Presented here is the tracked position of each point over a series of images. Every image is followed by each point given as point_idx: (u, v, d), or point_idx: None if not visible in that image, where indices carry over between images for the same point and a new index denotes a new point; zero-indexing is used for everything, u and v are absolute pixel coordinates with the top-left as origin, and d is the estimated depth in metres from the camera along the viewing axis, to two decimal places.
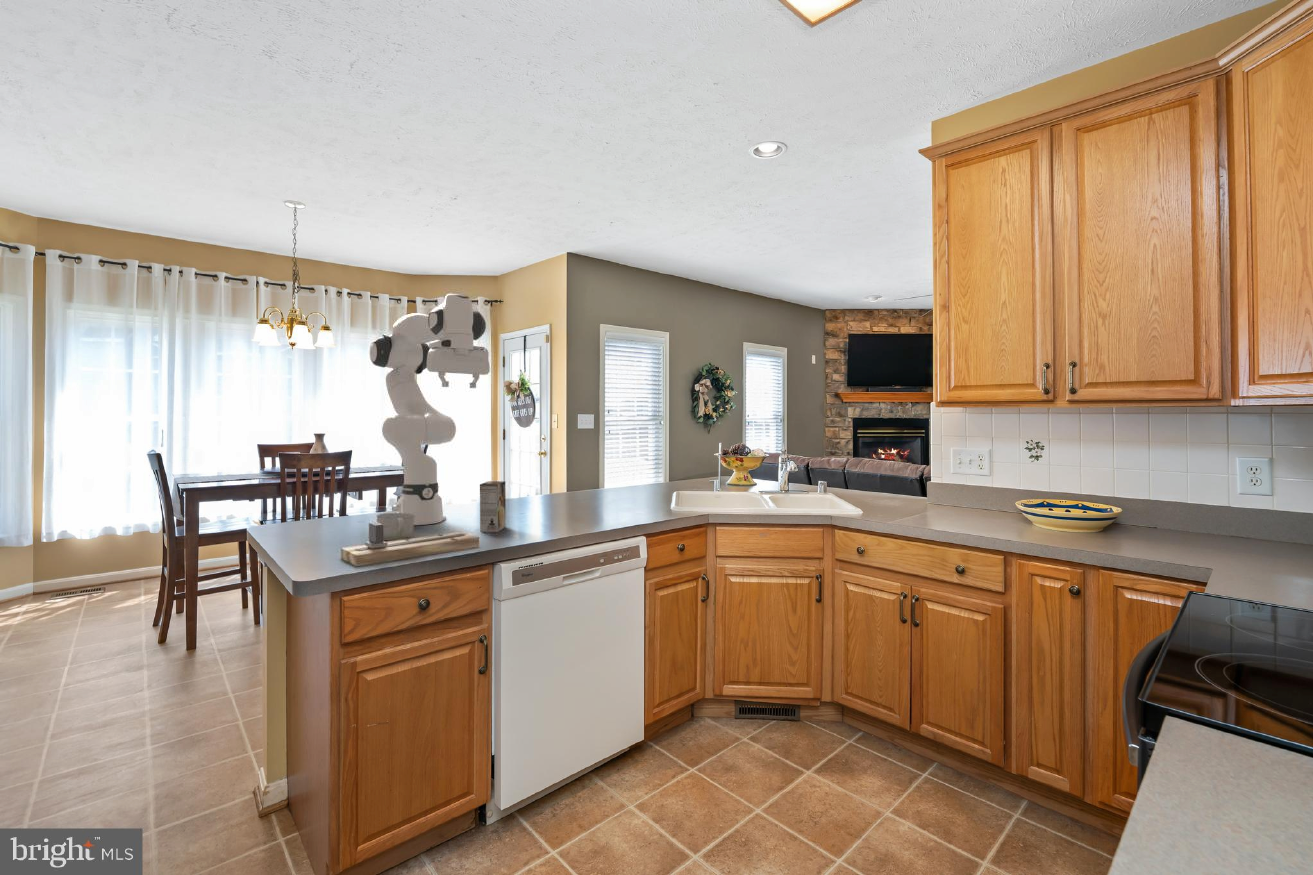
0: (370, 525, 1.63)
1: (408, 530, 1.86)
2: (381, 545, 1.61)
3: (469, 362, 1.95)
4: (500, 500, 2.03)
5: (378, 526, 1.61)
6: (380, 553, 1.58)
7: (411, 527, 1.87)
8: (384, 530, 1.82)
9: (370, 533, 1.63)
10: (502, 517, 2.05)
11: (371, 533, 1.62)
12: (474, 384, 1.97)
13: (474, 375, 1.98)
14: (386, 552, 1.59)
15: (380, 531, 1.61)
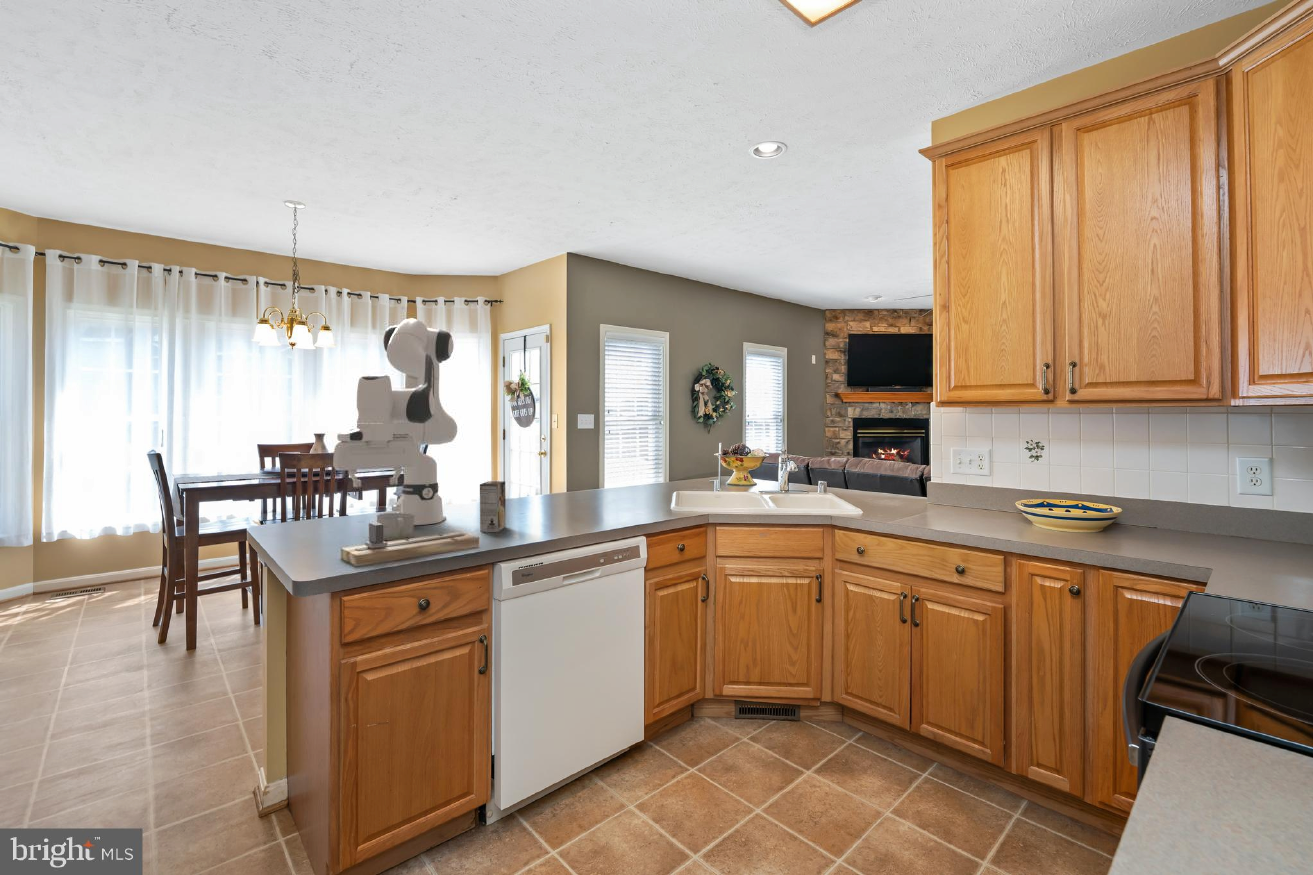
0: (370, 525, 1.63)
1: (408, 530, 1.86)
2: (381, 545, 1.61)
3: (388, 454, 1.63)
4: (500, 500, 2.03)
5: (378, 526, 1.61)
6: (380, 553, 1.58)
7: (411, 527, 1.87)
8: (384, 530, 1.82)
9: (370, 533, 1.63)
10: (502, 517, 2.05)
11: (371, 533, 1.62)
12: (395, 480, 1.65)
13: (395, 469, 1.66)
14: (386, 552, 1.59)
15: (380, 531, 1.61)
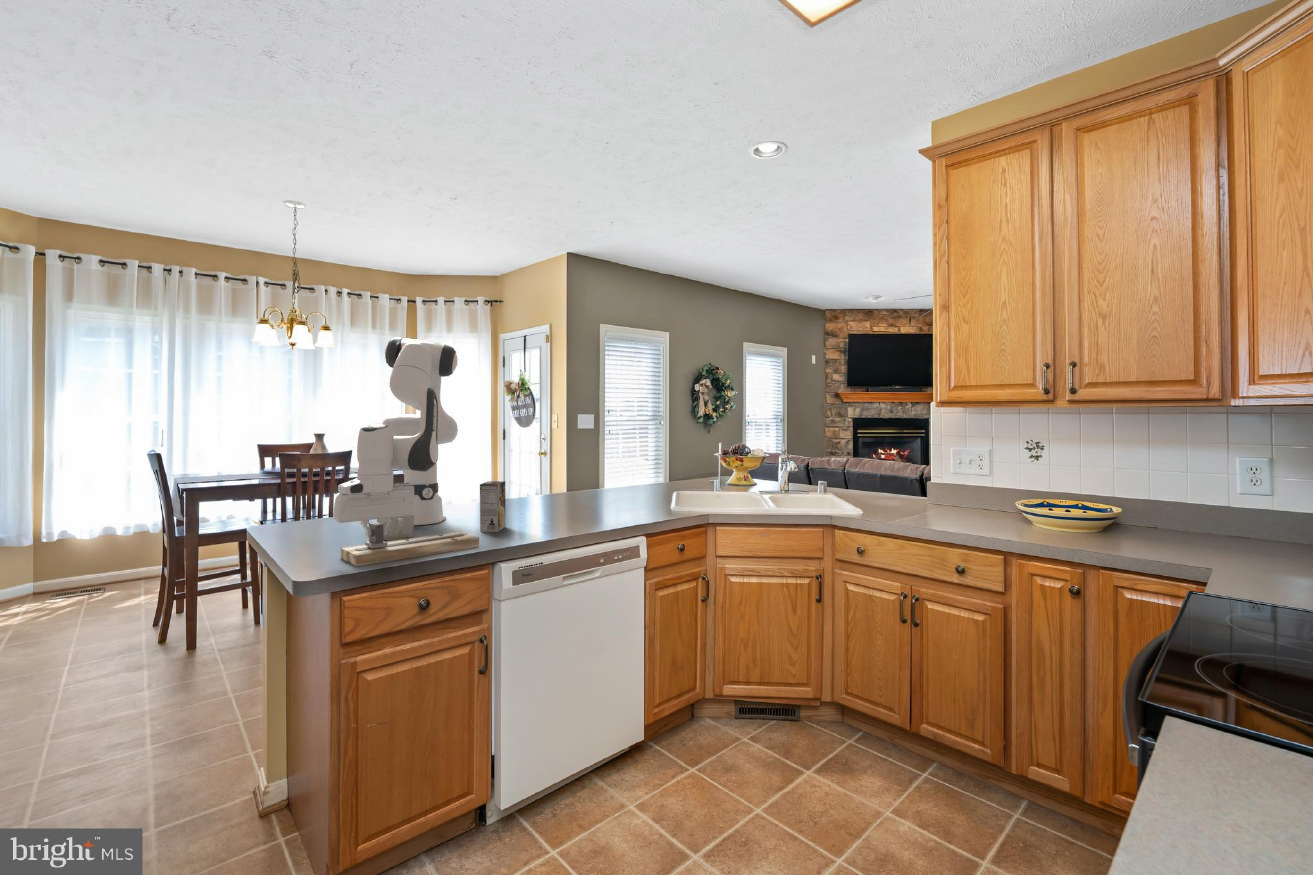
0: (370, 525, 1.63)
1: (408, 530, 1.86)
2: (381, 545, 1.61)
3: (388, 504, 1.63)
4: (500, 500, 2.03)
5: (378, 526, 1.61)
6: (380, 553, 1.58)
7: (411, 527, 1.87)
8: None
9: None
10: (502, 517, 2.05)
11: None
12: (384, 530, 1.63)
13: (384, 519, 1.64)
14: (386, 552, 1.59)
15: (380, 531, 1.61)
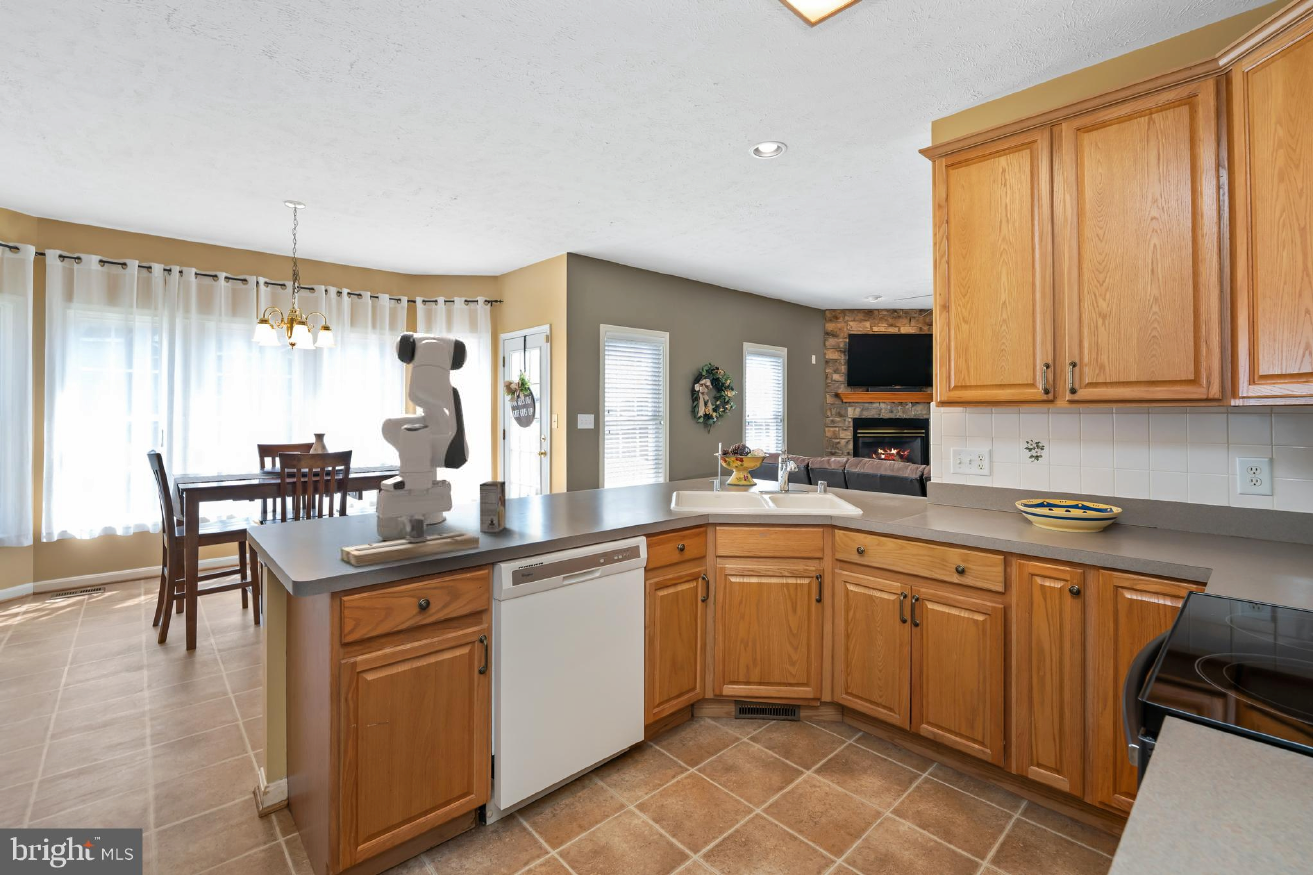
0: (410, 520, 1.71)
1: None
2: (421, 539, 1.69)
3: (427, 501, 1.71)
4: (500, 500, 2.03)
5: (419, 521, 1.68)
6: (380, 553, 1.58)
7: None
8: (384, 530, 1.82)
9: None
10: (502, 517, 2.05)
11: None
12: (423, 525, 1.71)
13: (424, 515, 1.72)
14: (386, 552, 1.59)
15: (420, 526, 1.69)
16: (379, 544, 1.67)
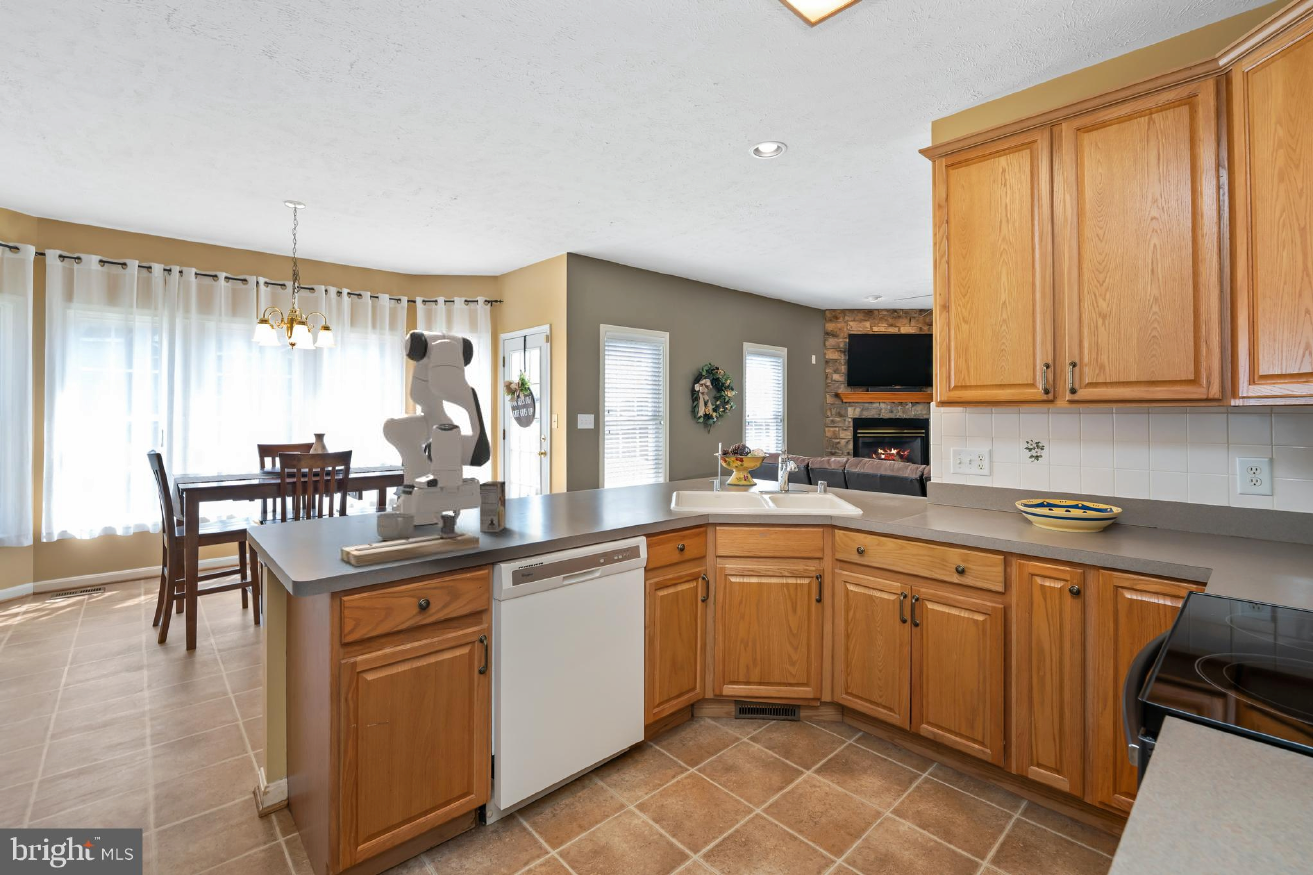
0: (442, 517, 1.77)
1: (408, 530, 1.86)
2: (453, 535, 1.76)
3: (458, 498, 1.77)
4: (500, 500, 2.03)
5: (450, 517, 1.75)
6: (380, 553, 1.58)
7: (411, 527, 1.87)
8: (384, 530, 1.82)
9: None
10: (502, 517, 2.05)
11: None
12: None
13: (454, 511, 1.78)
14: (386, 552, 1.59)
15: (452, 522, 1.75)
16: (379, 544, 1.67)
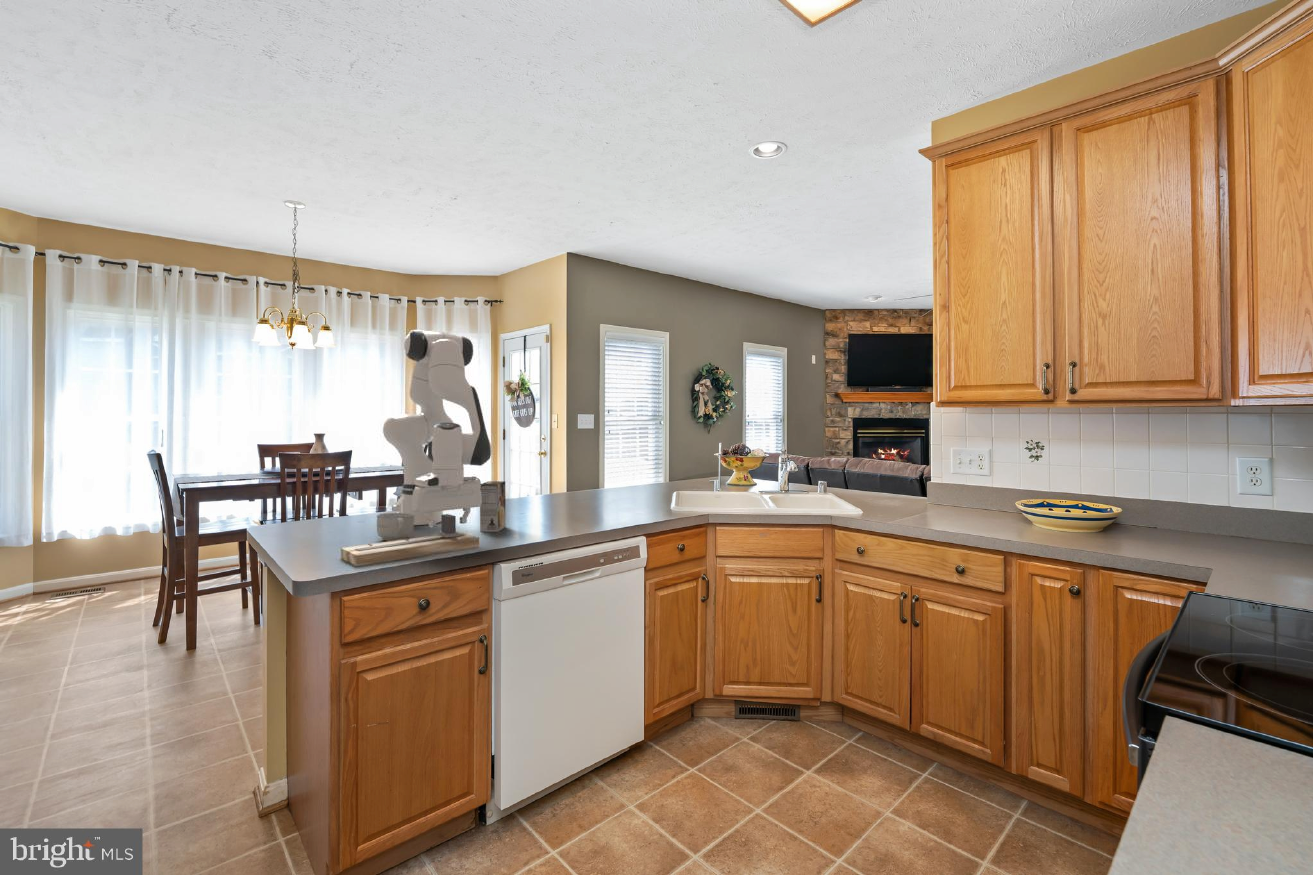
0: (443, 517, 1.77)
1: (408, 530, 1.86)
2: (453, 535, 1.76)
3: (459, 497, 1.78)
4: (500, 500, 2.03)
5: (451, 517, 1.75)
6: (380, 553, 1.58)
7: (411, 527, 1.87)
8: (384, 530, 1.82)
9: (443, 524, 1.77)
10: (502, 517, 2.05)
11: (444, 524, 1.77)
12: (464, 519, 1.80)
13: (465, 509, 1.80)
14: (386, 552, 1.59)
15: (453, 522, 1.75)
16: (379, 544, 1.67)
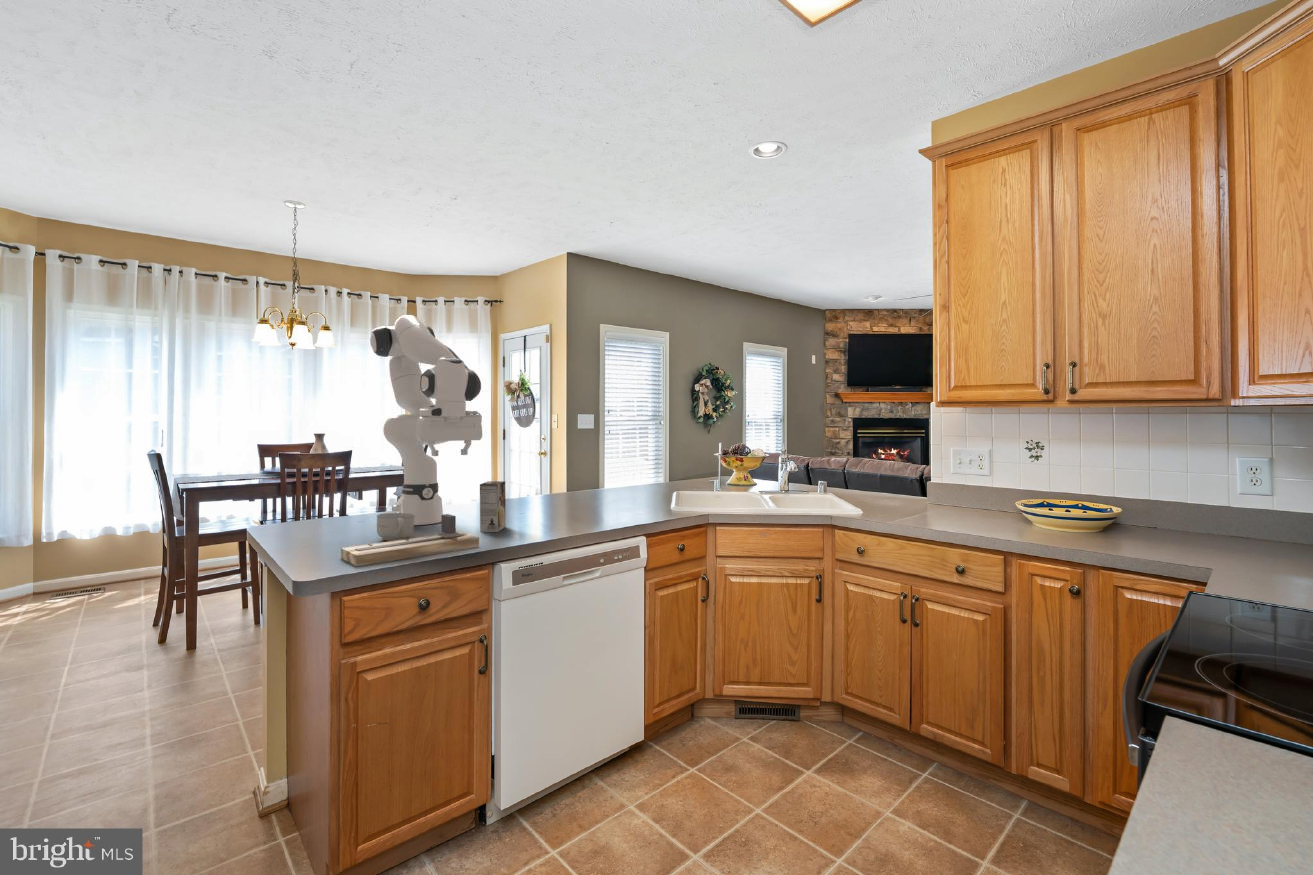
0: (443, 517, 1.77)
1: (408, 530, 1.86)
2: (453, 535, 1.76)
3: (461, 429, 1.86)
4: (500, 500, 2.03)
5: (451, 517, 1.75)
6: (380, 553, 1.58)
7: (411, 527, 1.87)
8: (384, 530, 1.82)
9: (443, 524, 1.77)
10: (502, 517, 2.05)
11: (444, 524, 1.77)
12: (465, 451, 1.88)
13: (466, 441, 1.89)
14: (386, 552, 1.59)
15: (453, 522, 1.75)
16: (379, 544, 1.67)
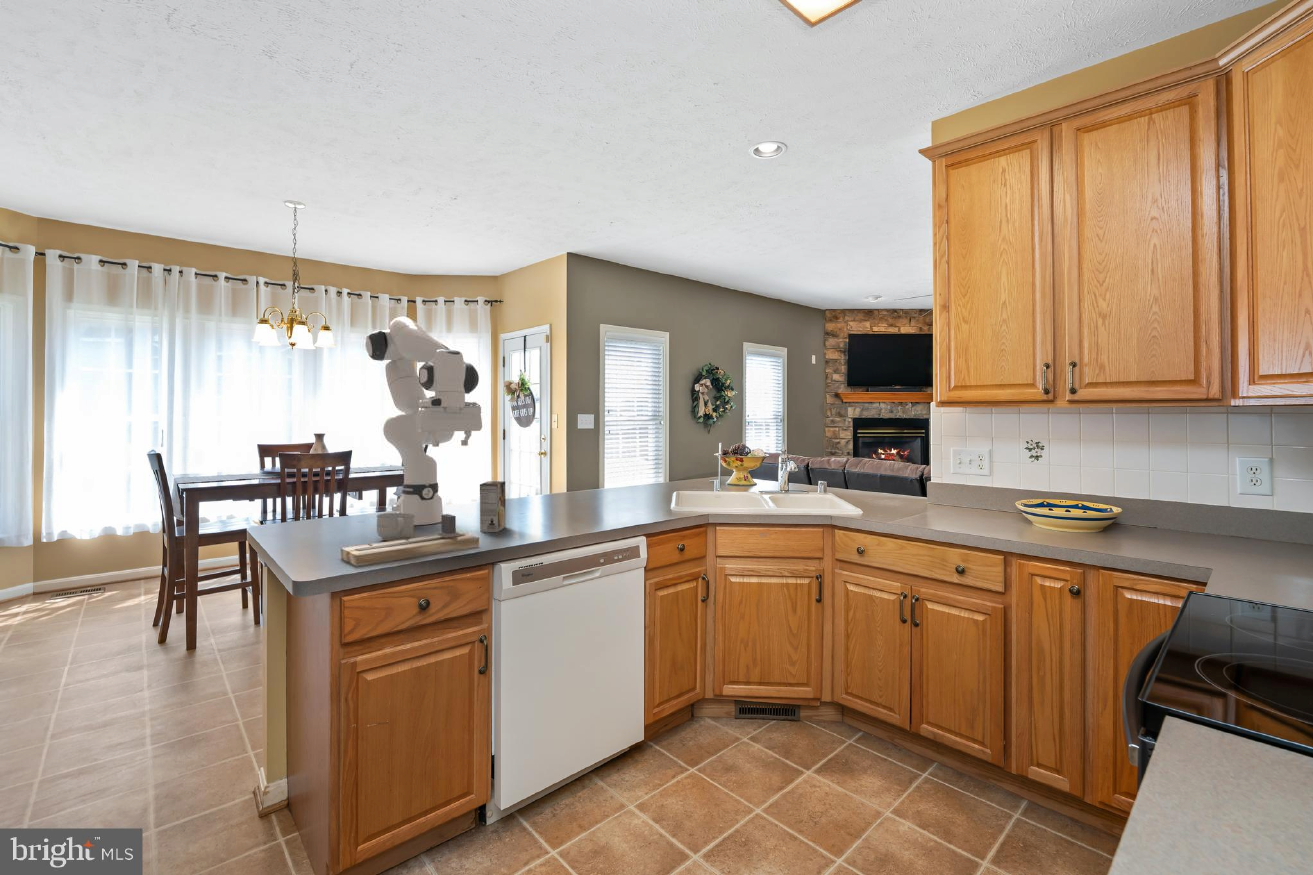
0: (443, 517, 1.77)
1: (408, 530, 1.86)
2: (453, 535, 1.76)
3: (461, 419, 1.88)
4: (500, 500, 2.03)
5: (451, 517, 1.75)
6: (380, 553, 1.58)
7: (411, 527, 1.87)
8: (384, 530, 1.82)
9: (443, 524, 1.77)
10: (502, 517, 2.05)
11: (444, 524, 1.77)
12: (466, 442, 1.90)
13: (466, 432, 1.91)
14: (386, 552, 1.59)
15: (453, 522, 1.75)
16: (379, 544, 1.67)
